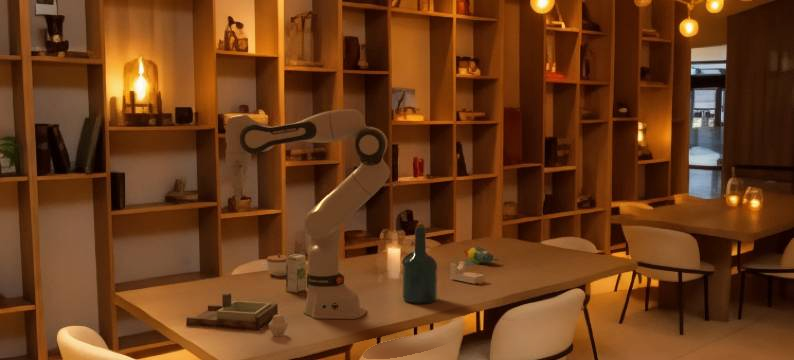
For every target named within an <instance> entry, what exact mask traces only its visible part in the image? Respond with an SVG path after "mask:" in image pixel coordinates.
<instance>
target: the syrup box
mask: <svg viewBox="0 0 794 360" xmlns="http://www.w3.org/2000/svg"><path fill="white" fill-rule="evenodd" d="M286 256H287V257H286V275H285V291H286V292H289V293H297V294H298V293H301V292H303V291H306V285H307V274H306V273H307V271H306V270H307V269H306V267H307V265H306V264H307V263H306V262H307V256H306V255H304V254H301V253H294V254H291V255H286Z"/></svg>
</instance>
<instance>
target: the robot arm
mask: <svg viewBox="0 0 794 360" xmlns="http://www.w3.org/2000/svg"><path fill="white" fill-rule="evenodd" d="M342 141H351V142H353V143H354V148H355V151H356V153H357V155H358V157H359V160H360V161H361V162H360V164H359V165H358V167H357V168H355V170H353V171H352V172H351V173H350V174H349V175H348V176H347V177H346V178H344V180H342V182H340V183H339V184H338V185H337V186H336V187H335V188H334V189H333V190H331V191H330V193H329V194H327V195H326V196H325V197H323V199H321V201H319V202H318V203H316V205H315V206H314V207H313V208H311V209H310V210H309V211H308V212H307V214H306V216H305V218H304V229H305V231H306V233H307V234H308V235H309V236H310V237H309V245H308V251H307V259H308V260H307V272H306V273H307V274H306V289H307V292H306V293H307V294H306V301H305V305H304V308H303V313H304V314H305V315H308V316H310V317H312V318H313V319H327V320H328V319H329V320H330V319H331V320H332V319H335V320H336V319H338V320H340V319H343V320H345V319H346V320H349V319H350V320H355V319H359V318H361V317H363V316H364V315H365V314H366V313H367V308H366V307H365V306H364V305H361V303H360V302H361V301H360V298H359V294H358V293H357V292H356V291H354V290H353V289H351V287H349V286H348V285H347V284H346V283H345V278H346V277H345V276H346V275H345V274H343V275H342V274H341V273H340V271H339V269H340V266H339V265H340V259H339V258H340V256H339V255H340V244H341V231H342V224H344V223H345V222H346V221H347V220H348V219H350V217H351V216H352V215H353V214H355V213H356V212H357V211H358V210H359V209H360V208H361V207H362V206H363V205H364V204H366V202H368V201H369V200H370V199H371V198H372V197H373V196H374V195H376V193H378V191H379V190H380V189H381V188H382V187H383V186H384V185H385V183H386V182H387V181H388V179H389V177H390V175H391V169H390V166H389V165H388V164H387V163H386V161H385V160H384V155H385V153H386V151H387V150H388V147H389V138H388V136H387V134H386V133H385V131H383V129H380V128H378V127H375V126H373V125H369V124H366V122H365V118H364V115H363V114H362V113H361V111H359V110H358V109H352V108H351V109H347V108H345V109H335V110H328V111H324V112H320V113H319V112H318V113H317V114H314V115H312V116H309V117H307V118H304V119H302V120H299V121H297V122H294V123H288V124H282V125H276V126H270V125H268V124H265V123H261V122H259V121H257V120H255V119H253V118H252V117H250V116H249V115H248V114H241V115H240V114H239V115H234V116H230V117H229V118H228V119H227V120H226V124H225V143H226V148H225V165H226V166H229V170H230V171H231V172H230V175H231V176H230V178H231V181H230V185H231V186H230V187H231V189H232V190H234V191H233V192H234V200H235V201H236V202H237V201H241V198H243V192H244V191H243V190H244V185H245V184H246V182H247V181H246V180H247V173H248V168H249V167H248V166H251V165H252V155H257V154H260V153H264V152H268V151H269V150H272V149H273V148H274V147H275V146H278V145H282V144H289V143H297V142H304V143H305V142H307V143H316V144H318V143H321V144H322V143H323V144H324V143H325V144H326V143H335V142H342Z"/></svg>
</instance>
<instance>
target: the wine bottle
mask: <svg viewBox="0 0 794 360" xmlns="http://www.w3.org/2000/svg"><path fill="white" fill-rule="evenodd" d="M426 232H427V231H426V227H425V223H423V222H420V223H417V224H416V226H415V229H414V251H411V252H410V253H408V254H407V255H405V257H404V258H403V259H402V262H401V264H402V298H403V301H404V302H407V303H410V304H417V305H425V304H426V305H427V304H432V303H434V302H435V301H436V300H437V299H438V298H437V294H438V293H437V291H438V288H437V287H438V282H437V281H438V263H437V261H436V259H435V258H434V257H433V256H431V255H430V254H428V253H427V249H426V248H427V247H426V244H427V243H426V242H427V241H426V236H427V233H426Z"/></svg>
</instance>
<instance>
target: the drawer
mask: <svg viewBox="0 0 794 360" xmlns="http://www.w3.org/2000/svg"><path fill="white" fill-rule="evenodd" d="M221 298H222V299H221V300H222V303H221V304H222V306H223V308H221V309H219V310H218V311H217V319H224V320H238V321H252V322H255V317H256V316H257V315H259V314H260V313H262V312H263V311H265V310H266V309H267V308H269V307H270V306H272V302H262V301H246V300H245V301H244V300H233V301H232V293H228V292H227V293H222V295H221Z"/></svg>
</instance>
